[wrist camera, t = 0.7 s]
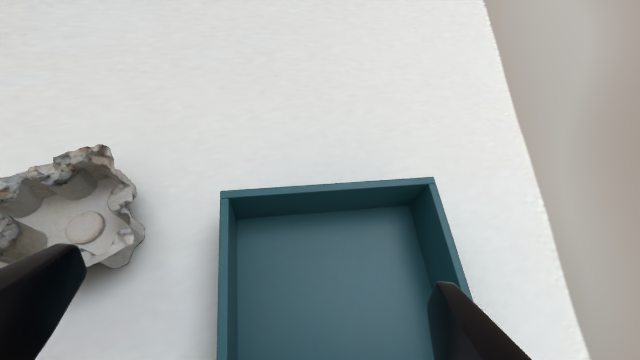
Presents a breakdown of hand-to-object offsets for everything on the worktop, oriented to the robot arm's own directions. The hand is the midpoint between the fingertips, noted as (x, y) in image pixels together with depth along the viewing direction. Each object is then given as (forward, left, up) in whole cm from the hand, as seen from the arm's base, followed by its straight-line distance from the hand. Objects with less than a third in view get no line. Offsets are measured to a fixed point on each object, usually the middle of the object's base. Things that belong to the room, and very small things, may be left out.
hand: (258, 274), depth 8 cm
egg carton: (+6, +13, -13) cm, 20 cm away
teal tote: (+1, -4, -13) cm, 14 cm away
